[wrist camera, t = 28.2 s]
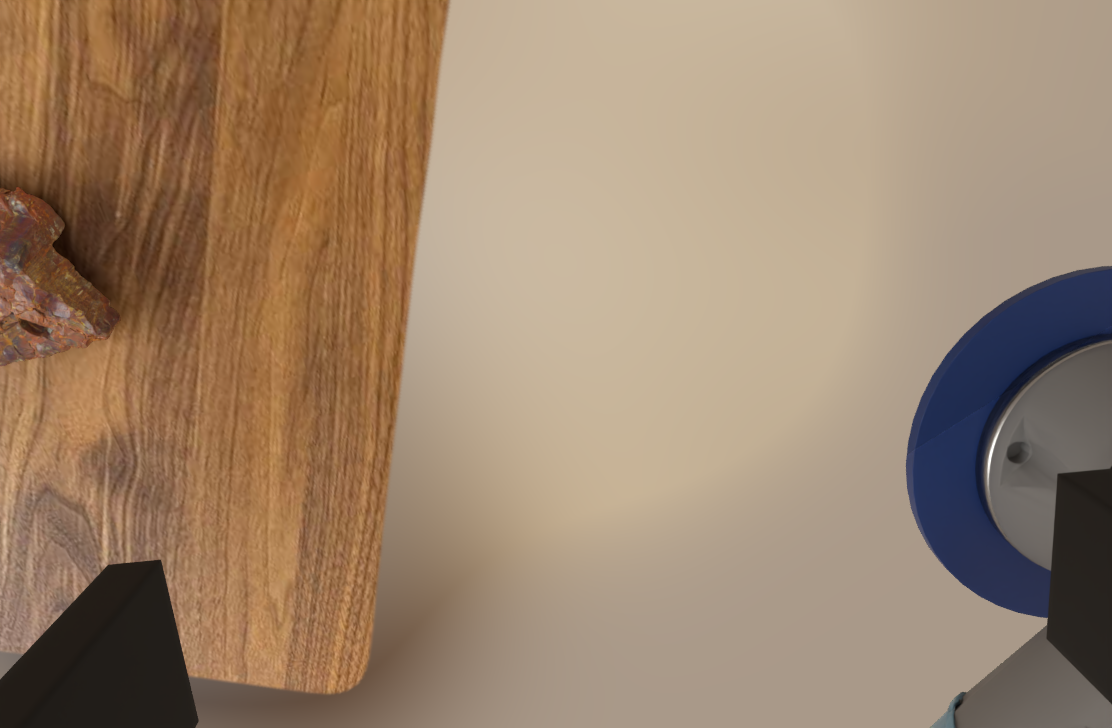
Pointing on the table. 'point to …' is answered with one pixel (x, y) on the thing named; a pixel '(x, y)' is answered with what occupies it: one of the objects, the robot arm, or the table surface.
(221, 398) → the table surface
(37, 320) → the mineral specimen
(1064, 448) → the robot arm
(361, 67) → the table surface
